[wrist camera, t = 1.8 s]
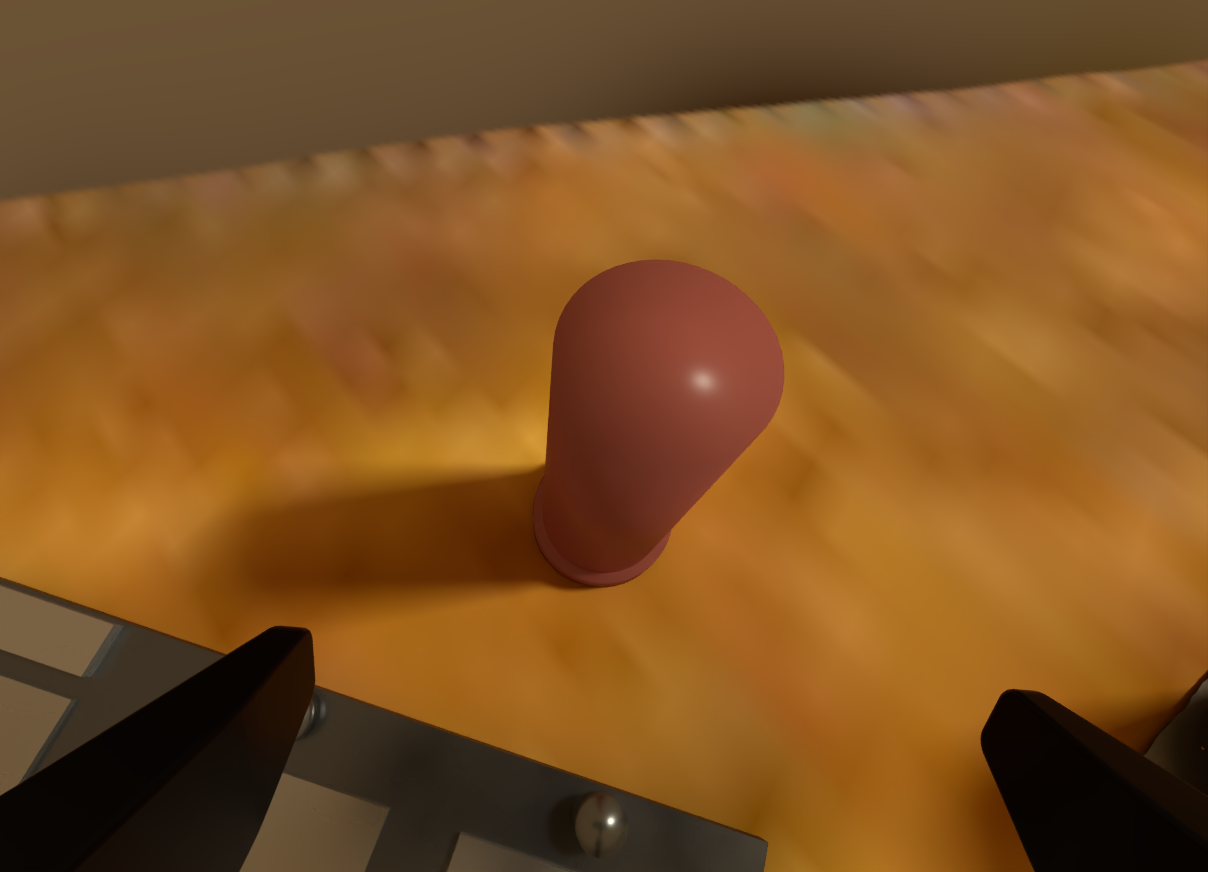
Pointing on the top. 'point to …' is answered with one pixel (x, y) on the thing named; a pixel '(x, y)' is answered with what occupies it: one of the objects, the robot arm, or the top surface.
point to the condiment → (1186, 743)
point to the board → (345, 767)
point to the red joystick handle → (647, 412)
